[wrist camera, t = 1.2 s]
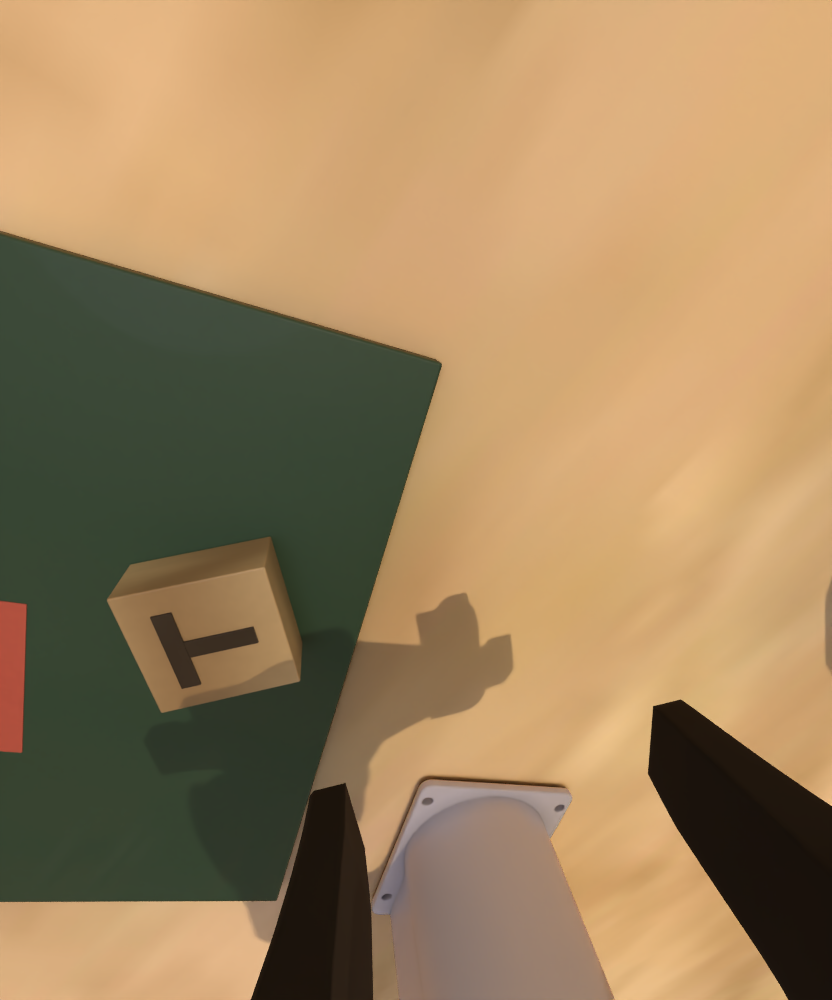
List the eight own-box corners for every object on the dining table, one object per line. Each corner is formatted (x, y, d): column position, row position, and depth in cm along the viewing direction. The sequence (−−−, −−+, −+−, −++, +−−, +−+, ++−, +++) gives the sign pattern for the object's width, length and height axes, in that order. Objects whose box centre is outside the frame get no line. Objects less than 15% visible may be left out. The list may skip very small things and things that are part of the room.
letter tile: (270, 535, 17) (264, 568, 15) (302, 642, 19) (300, 683, 17) (129, 564, 16) (104, 601, 14) (177, 670, 18) (160, 715, 16)
